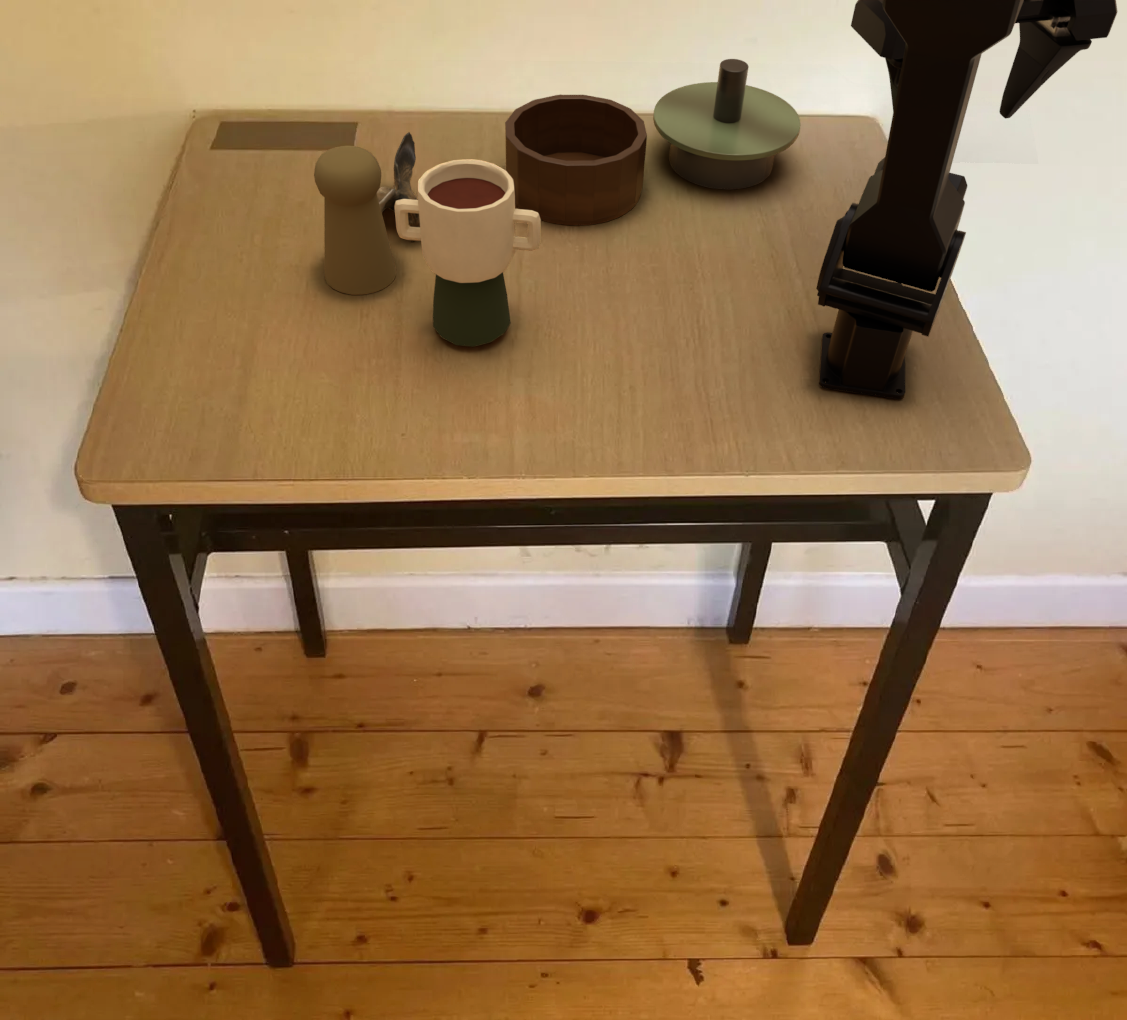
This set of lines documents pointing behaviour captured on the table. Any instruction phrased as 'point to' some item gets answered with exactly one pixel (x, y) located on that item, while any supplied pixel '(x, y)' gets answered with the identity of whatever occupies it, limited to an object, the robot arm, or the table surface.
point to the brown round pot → (575, 158)
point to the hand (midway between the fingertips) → (952, 121)
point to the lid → (727, 117)
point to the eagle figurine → (401, 180)
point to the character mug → (468, 245)
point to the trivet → (719, 170)
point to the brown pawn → (353, 222)
